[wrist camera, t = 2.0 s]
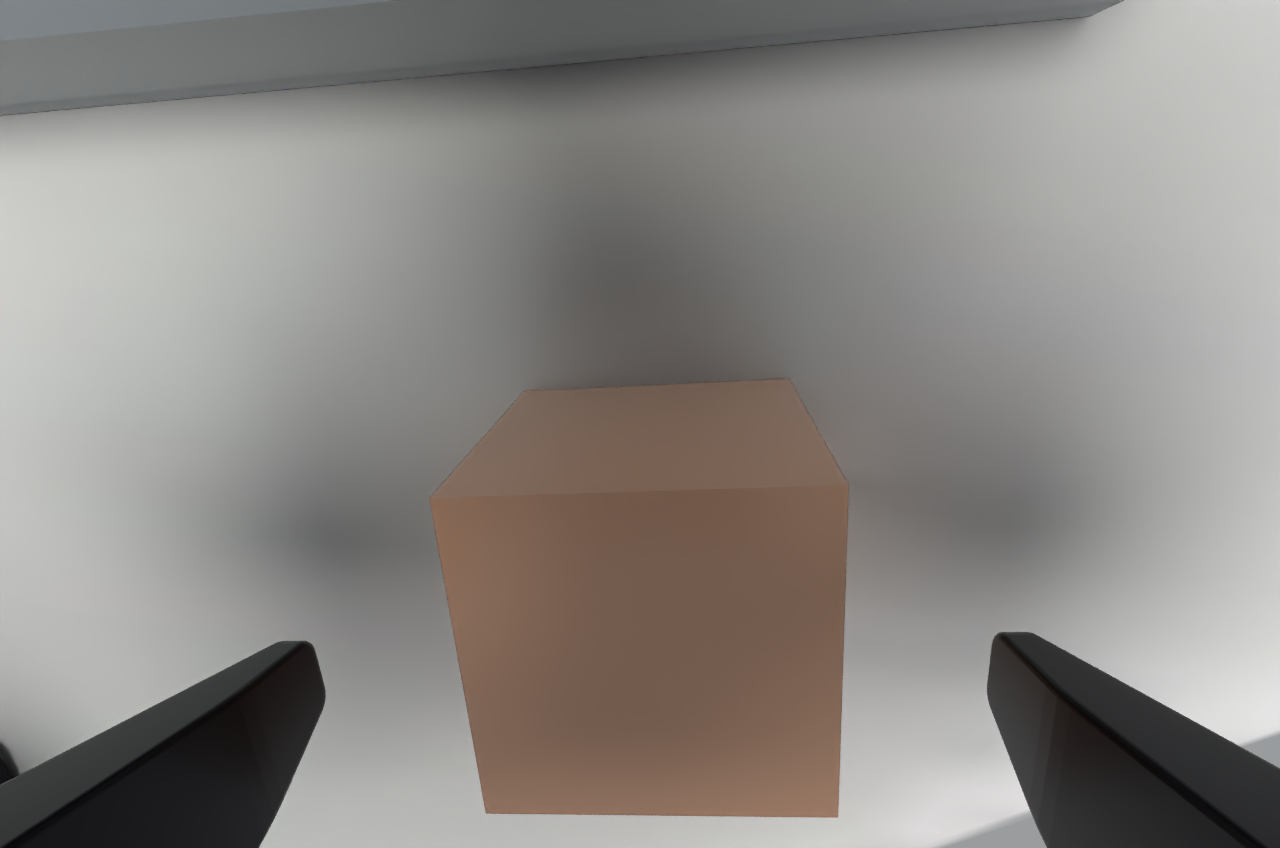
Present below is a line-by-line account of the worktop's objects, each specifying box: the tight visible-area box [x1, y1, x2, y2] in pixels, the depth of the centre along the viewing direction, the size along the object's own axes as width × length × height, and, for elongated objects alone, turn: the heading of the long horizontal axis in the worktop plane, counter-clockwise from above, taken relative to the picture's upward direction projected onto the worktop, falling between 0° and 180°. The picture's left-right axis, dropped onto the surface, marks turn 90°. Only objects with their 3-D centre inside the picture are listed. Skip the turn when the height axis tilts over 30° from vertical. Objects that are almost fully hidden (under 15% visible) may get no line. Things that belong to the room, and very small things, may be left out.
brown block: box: [429, 379, 849, 817], centre depth 11 cm, size 5×5×5 cm
